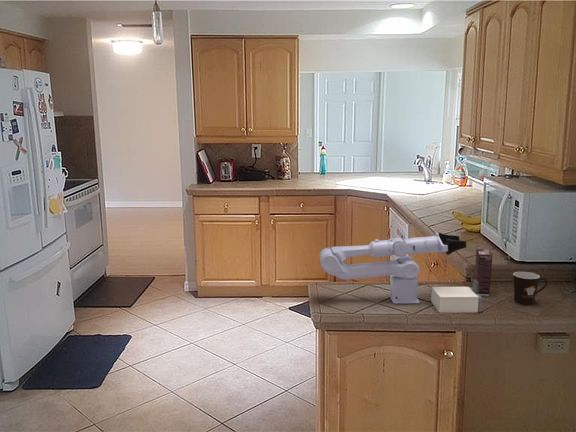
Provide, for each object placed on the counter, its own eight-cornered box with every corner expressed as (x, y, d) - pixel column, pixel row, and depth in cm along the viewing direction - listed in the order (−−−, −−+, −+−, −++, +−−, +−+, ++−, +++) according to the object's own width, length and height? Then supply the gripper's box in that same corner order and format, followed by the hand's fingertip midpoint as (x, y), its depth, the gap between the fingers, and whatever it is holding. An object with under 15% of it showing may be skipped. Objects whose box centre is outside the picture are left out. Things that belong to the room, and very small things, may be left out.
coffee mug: (511, 304, 192) (513, 277, 191) (510, 297, 200) (512, 270, 199) (547, 308, 189) (550, 280, 187) (545, 300, 196) (547, 273, 195)
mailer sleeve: (439, 312, 185) (440, 297, 184) (431, 301, 196) (431, 286, 195) (477, 312, 185) (478, 297, 184) (467, 301, 196) (468, 286, 195)
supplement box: (490, 296, 201) (492, 255, 198) (476, 296, 202) (478, 254, 199) (486, 289, 209) (489, 249, 206) (473, 288, 210) (475, 248, 207)
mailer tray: (442, 311, 185) (443, 286, 183) (433, 300, 196) (435, 276, 194) (481, 311, 185) (482, 286, 183) (470, 300, 196) (471, 276, 194)
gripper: (428, 238, 186) (468, 235, 185) (418, 229, 200) (455, 226, 200) (429, 258, 187) (469, 255, 187) (419, 248, 201) (456, 245, 201)
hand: (462, 241), depth 193 cm, fingers open, 7 cm apart
